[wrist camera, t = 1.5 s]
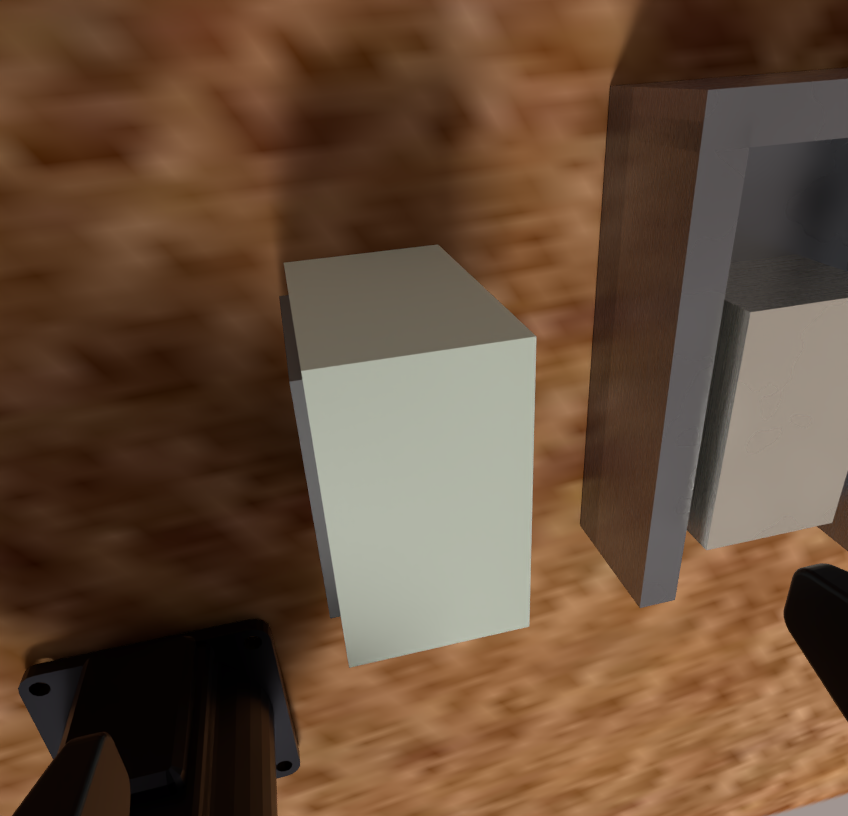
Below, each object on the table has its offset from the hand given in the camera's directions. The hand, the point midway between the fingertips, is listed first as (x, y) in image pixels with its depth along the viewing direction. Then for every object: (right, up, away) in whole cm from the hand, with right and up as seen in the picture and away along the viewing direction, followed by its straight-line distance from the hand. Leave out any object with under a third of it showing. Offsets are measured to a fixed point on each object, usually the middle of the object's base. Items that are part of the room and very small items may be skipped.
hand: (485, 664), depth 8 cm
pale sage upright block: (-2, +4, +8) cm, 9 cm away
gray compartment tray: (+11, +6, +10) cm, 16 cm away
